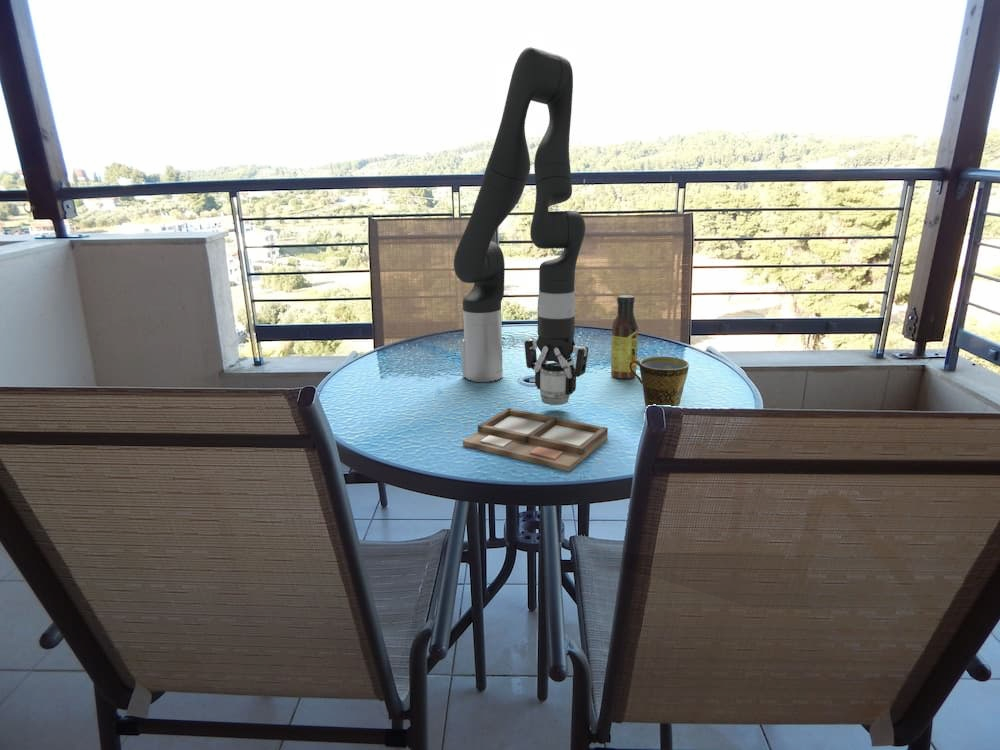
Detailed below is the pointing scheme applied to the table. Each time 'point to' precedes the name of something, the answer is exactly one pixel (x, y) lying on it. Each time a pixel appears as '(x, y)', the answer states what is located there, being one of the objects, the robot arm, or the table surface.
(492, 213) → the robot arm
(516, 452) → the board
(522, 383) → the table surface
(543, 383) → the camera lens
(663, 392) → the ceramic cup
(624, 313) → the sauce bottle
